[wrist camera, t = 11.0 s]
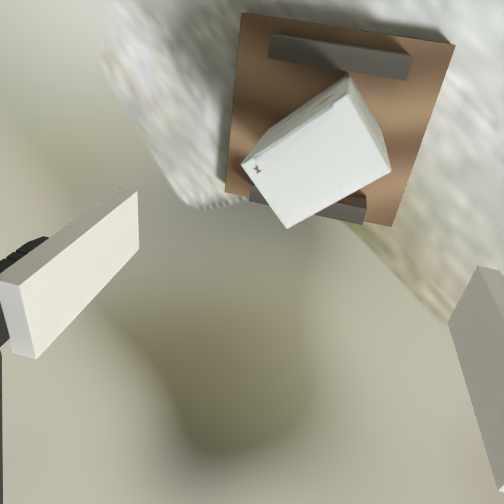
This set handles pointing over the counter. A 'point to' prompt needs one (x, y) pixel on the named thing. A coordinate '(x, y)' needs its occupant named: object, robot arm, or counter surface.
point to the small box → (318, 154)
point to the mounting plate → (321, 77)
